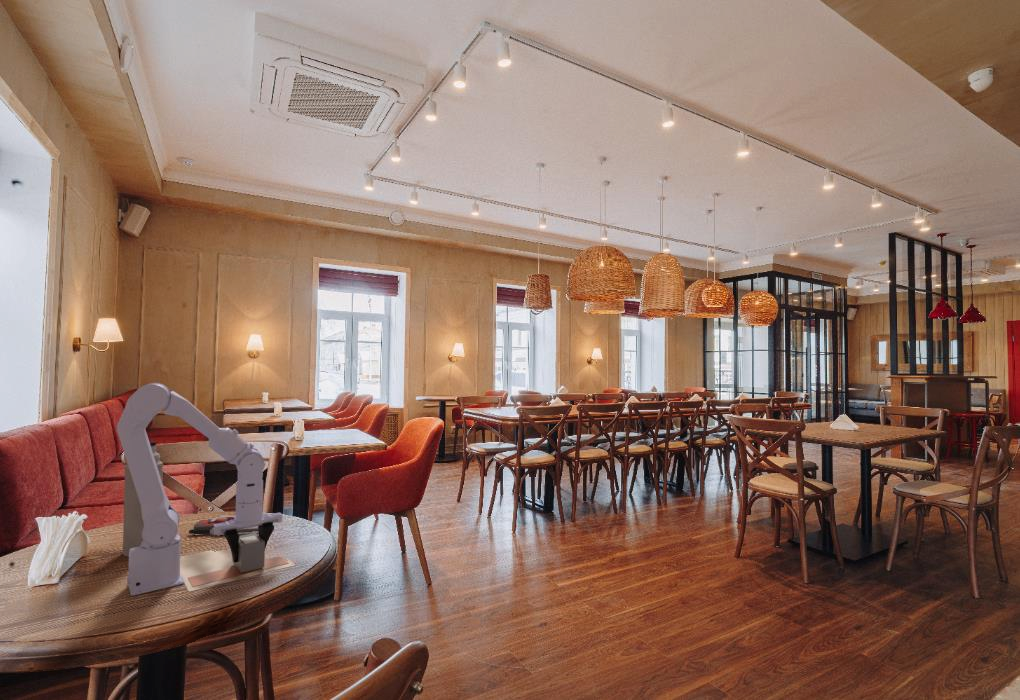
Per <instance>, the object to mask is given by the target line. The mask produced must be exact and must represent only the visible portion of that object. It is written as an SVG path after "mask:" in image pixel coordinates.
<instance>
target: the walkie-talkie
mask: <svg viewBox="0 0 1020 700" xmlns="http://www.w3.org/2000/svg"><path fill="white" fill-rule="evenodd" d="M234 519H236V514H230V515H228V514H224V515H220V516H218V517H217V518H213V516H210V517H209V518H207V519H200V520H199V521H198V522H196V523H195V524H194V525H193V528H192V529H189V530H188V533H189V534H190V535H191V534H193V535H194V534H209V535H211V536H215V534H214V524H219V523H223V522H227V521H230V520H234ZM237 531H238V534H241V533H253V532H258V527H250V528H244V529H239V530H237ZM220 535H224V534H223V533H221V534H218V535H217V536H216V537H221V536H220Z"/></svg>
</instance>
